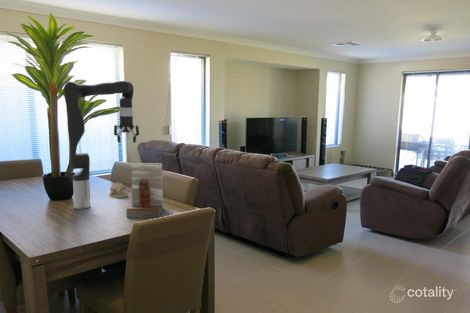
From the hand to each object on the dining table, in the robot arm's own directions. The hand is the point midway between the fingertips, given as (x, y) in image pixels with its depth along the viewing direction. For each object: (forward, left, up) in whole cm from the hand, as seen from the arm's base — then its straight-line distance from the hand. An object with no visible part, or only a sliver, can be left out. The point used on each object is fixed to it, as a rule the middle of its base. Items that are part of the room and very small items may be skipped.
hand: (126, 142), depth 217 cm
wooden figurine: (+11, +12, -38) cm, 41 cm away
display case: (+11, +12, -40) cm, 43 cm away
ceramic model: (-30, -12, -40) cm, 52 cm away
